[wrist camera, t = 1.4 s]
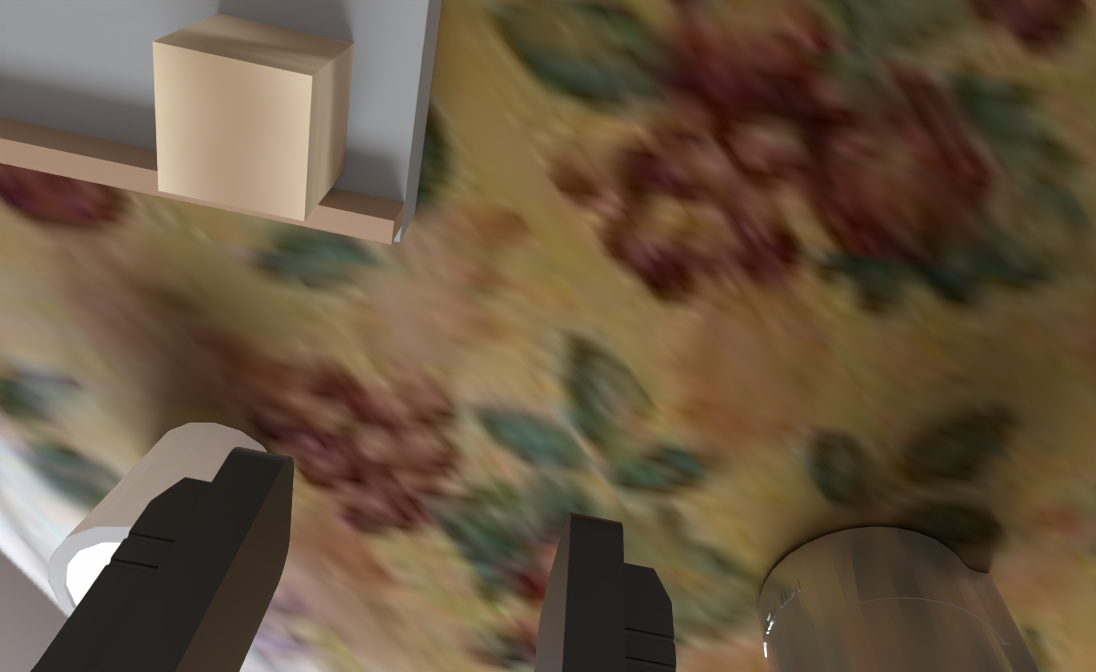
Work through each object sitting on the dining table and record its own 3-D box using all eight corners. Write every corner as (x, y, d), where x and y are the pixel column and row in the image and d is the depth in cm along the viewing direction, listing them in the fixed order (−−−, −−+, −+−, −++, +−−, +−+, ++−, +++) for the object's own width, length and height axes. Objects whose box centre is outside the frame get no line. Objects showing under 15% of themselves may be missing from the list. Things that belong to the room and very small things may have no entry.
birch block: (354, 43, 25) (312, 76, 21) (343, 172, 27) (304, 221, 23) (217, 12, 24) (152, 41, 21) (217, 145, 27) (158, 190, 23)
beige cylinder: (146, 520, 38) (60, 647, 32) (131, 397, 35) (31, 513, 29) (296, 544, 39) (238, 674, 33) (296, 424, 35) (231, 545, 29)
